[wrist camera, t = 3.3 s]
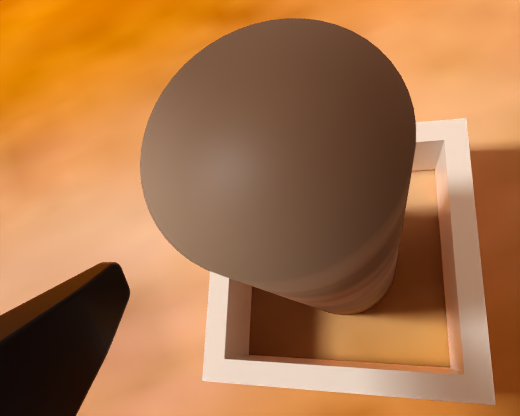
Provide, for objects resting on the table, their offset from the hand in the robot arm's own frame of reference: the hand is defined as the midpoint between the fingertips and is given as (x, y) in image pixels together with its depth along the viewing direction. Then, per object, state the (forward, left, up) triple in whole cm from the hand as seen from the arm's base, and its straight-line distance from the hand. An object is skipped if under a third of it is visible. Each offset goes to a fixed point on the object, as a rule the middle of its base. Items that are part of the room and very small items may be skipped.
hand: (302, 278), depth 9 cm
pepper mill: (+2, +1, -9) cm, 9 cm away
